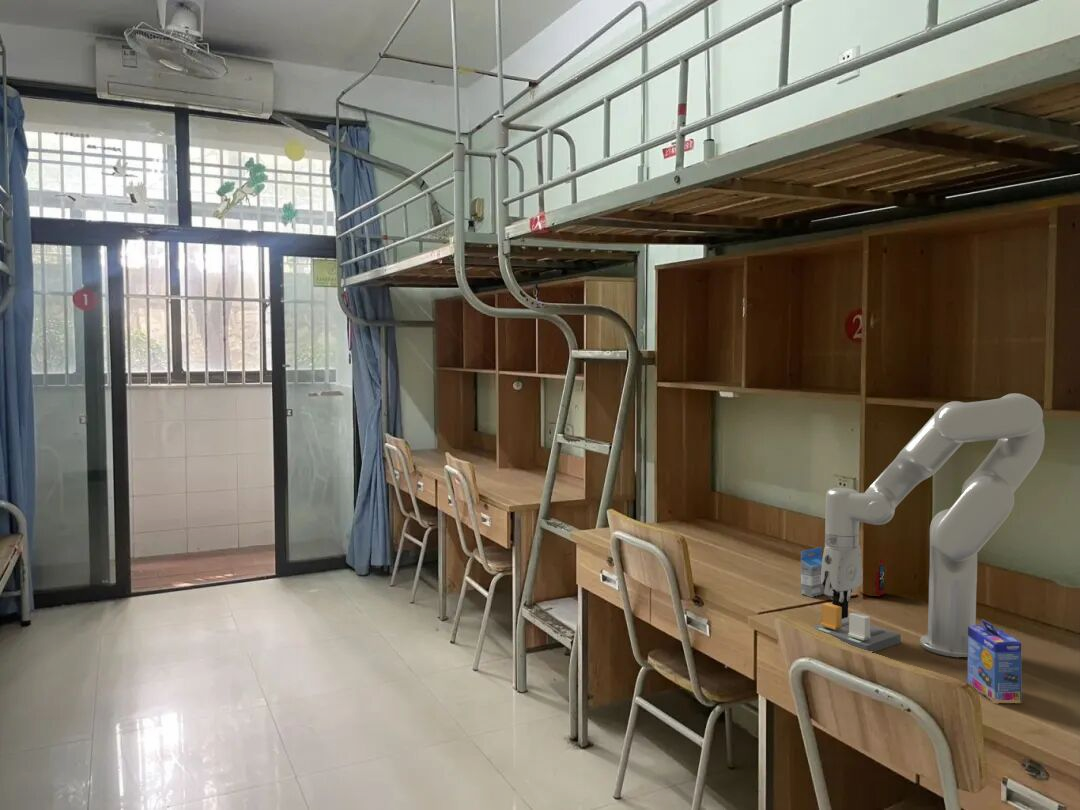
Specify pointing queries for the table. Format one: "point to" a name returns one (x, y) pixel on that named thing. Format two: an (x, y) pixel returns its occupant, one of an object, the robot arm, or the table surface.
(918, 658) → the table surface
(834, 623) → the orange breaker handle
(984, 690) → the ink cartridge box
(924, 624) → the table surface
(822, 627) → the breaker panel
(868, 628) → the white breaker handle
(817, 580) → the label tape box
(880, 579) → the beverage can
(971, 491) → the robot arm
